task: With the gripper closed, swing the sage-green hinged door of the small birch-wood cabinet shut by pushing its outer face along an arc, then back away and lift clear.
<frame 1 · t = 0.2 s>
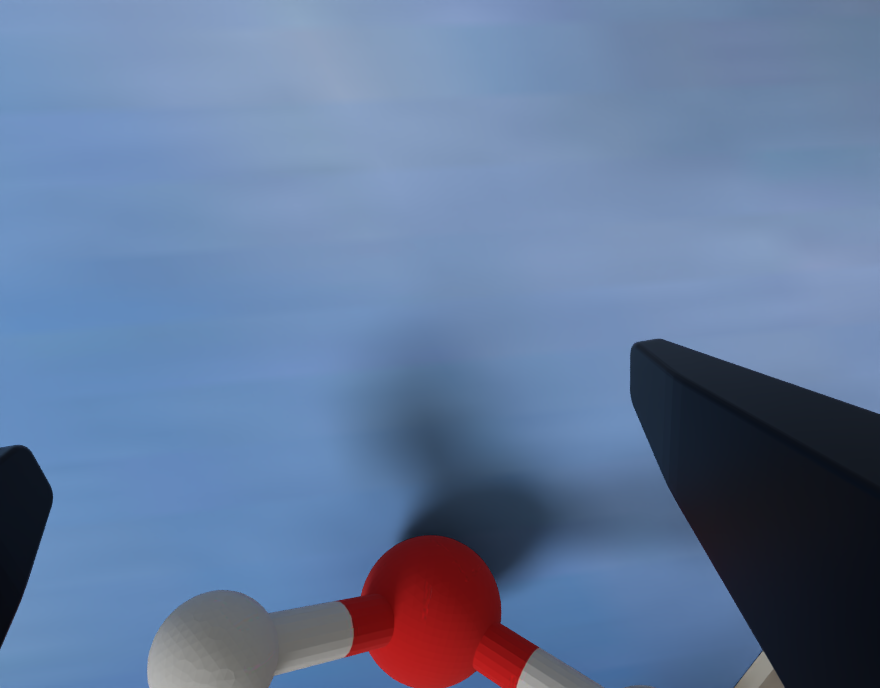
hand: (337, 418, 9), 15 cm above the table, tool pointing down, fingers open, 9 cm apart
molecular model: (428, 562, 27), on the table
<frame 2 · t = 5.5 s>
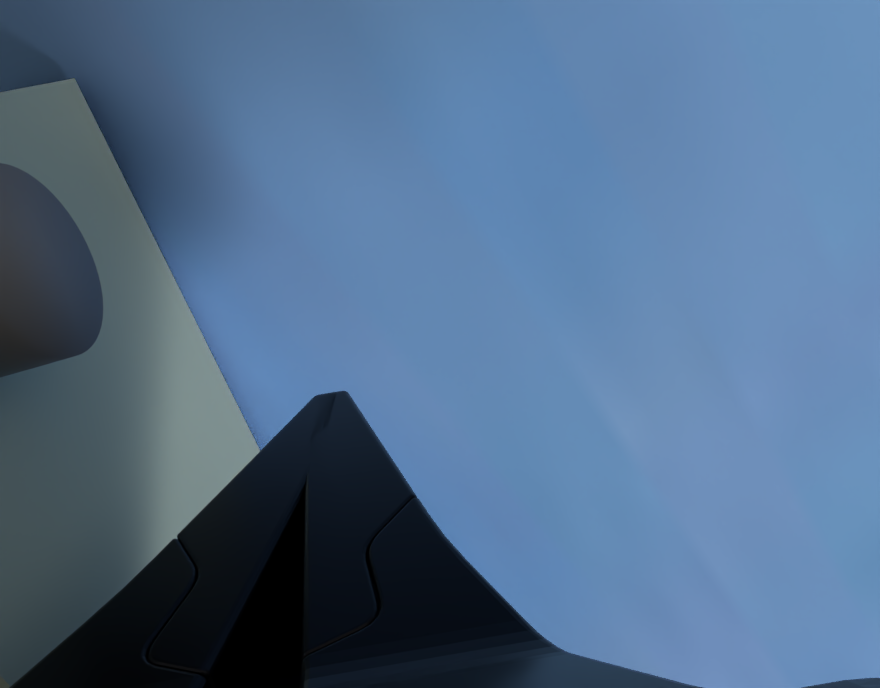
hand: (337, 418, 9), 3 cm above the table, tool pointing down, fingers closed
door: (254, 668, 11), point 4 cm above the table, hinge at -64.2°, touching gripper
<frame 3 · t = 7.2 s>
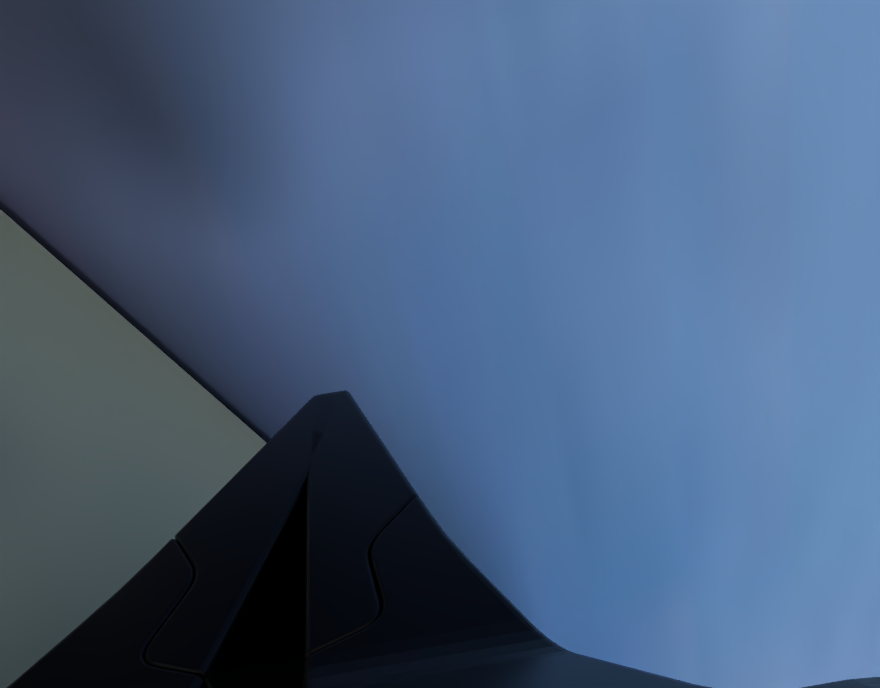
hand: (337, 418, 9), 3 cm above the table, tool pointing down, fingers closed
door: (330, 665, 11), point 4 cm above the table, hinge at -23.4°, touching gripper
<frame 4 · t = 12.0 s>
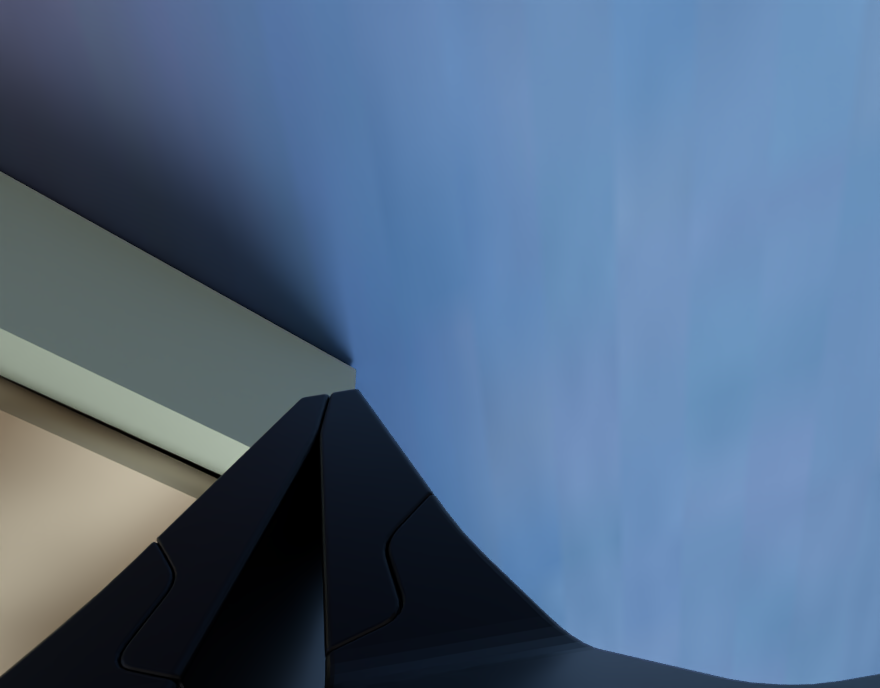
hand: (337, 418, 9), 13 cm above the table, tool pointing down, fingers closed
cabinet: (31, 381, 23), on the table
door: (81, 292, 18), point 4 cm above the table, hinge at 1.2°
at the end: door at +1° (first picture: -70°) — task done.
